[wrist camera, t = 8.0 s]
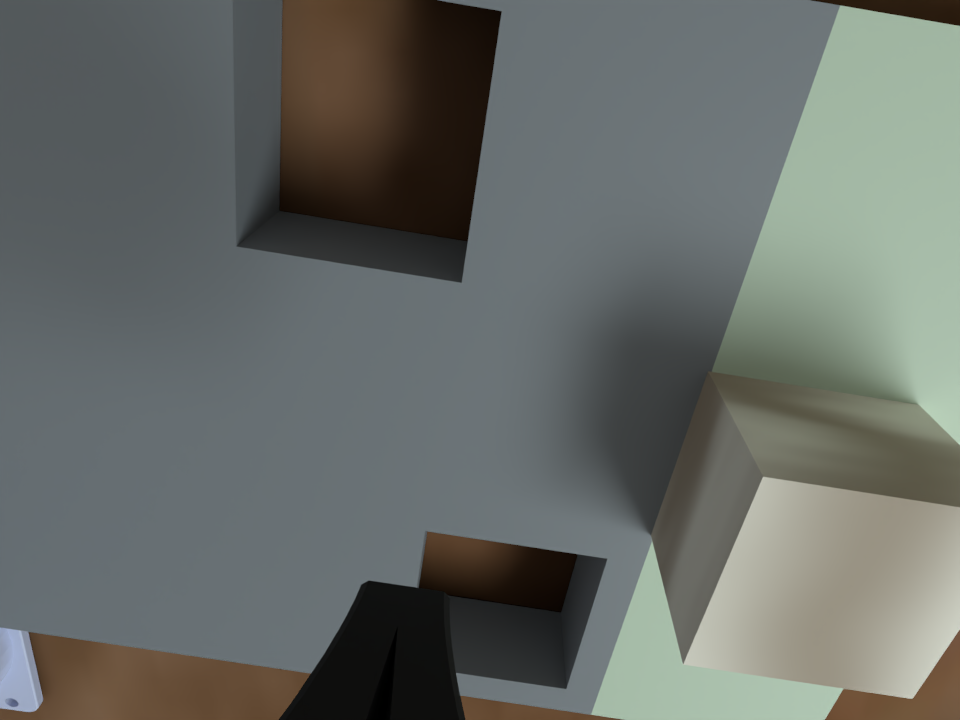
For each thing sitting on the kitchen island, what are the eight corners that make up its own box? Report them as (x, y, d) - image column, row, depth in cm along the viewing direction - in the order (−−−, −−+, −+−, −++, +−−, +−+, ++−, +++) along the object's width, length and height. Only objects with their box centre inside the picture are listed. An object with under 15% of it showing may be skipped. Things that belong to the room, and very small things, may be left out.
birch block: (650, 535, 18) (683, 664, 14) (707, 371, 16) (763, 477, 12) (835, 563, 18) (912, 698, 15) (919, 404, 16) (1034, 518, 12)
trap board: (-13, 547, 24) (-81, 615, 21) (-186, -161, 14) (-345, -199, 12) (776, 665, 24) (808, 746, 22) (1092, 59, 15) (1215, 70, 12)
